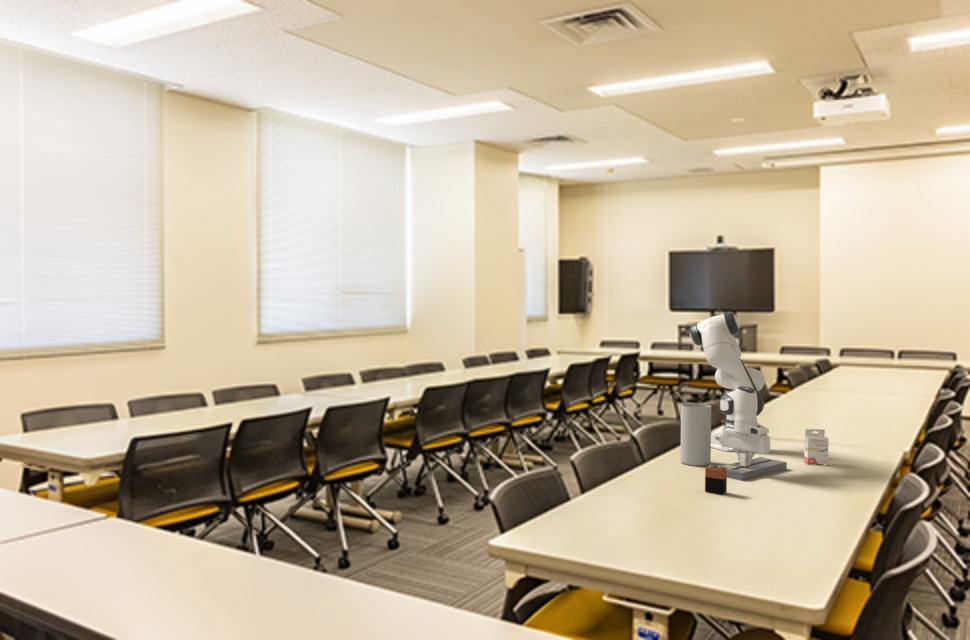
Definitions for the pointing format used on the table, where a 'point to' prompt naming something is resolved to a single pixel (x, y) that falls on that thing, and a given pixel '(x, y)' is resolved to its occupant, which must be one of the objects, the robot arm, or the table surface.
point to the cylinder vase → (695, 434)
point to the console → (754, 468)
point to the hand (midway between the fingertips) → (745, 461)
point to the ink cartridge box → (816, 447)
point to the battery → (715, 479)
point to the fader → (744, 459)
